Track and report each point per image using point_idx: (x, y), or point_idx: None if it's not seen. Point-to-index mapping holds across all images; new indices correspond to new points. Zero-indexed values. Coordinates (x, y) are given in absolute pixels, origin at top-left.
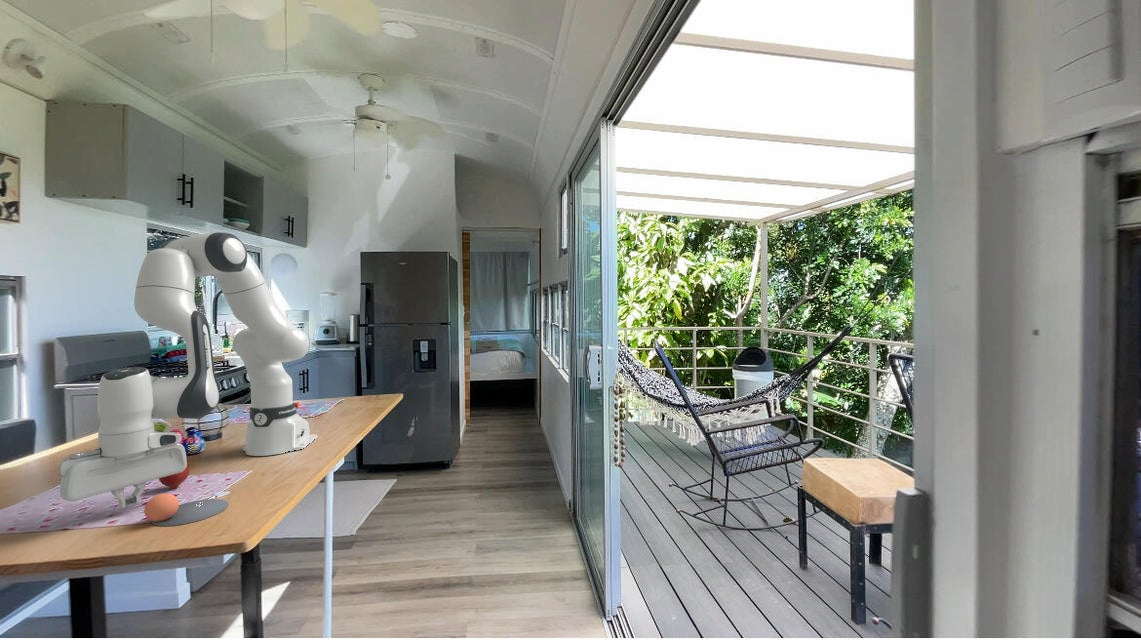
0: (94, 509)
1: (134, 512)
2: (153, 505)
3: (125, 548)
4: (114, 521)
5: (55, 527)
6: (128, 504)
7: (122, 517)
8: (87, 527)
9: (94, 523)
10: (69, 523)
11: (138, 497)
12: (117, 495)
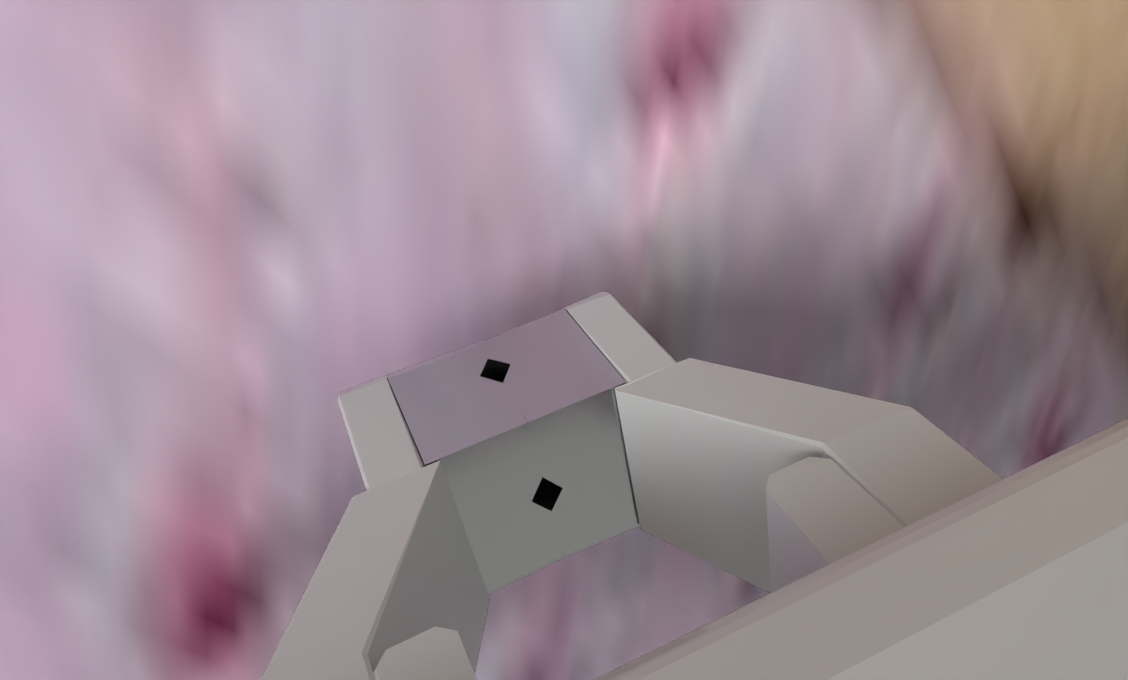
0: None
1: (381, 288)
2: None
3: None
4: (663, 42)
5: (1032, 350)
6: (524, 340)
7: (549, 161)
8: (919, 73)
9: (829, 183)
10: (942, 387)
11: (375, 461)
12: (857, 402)
